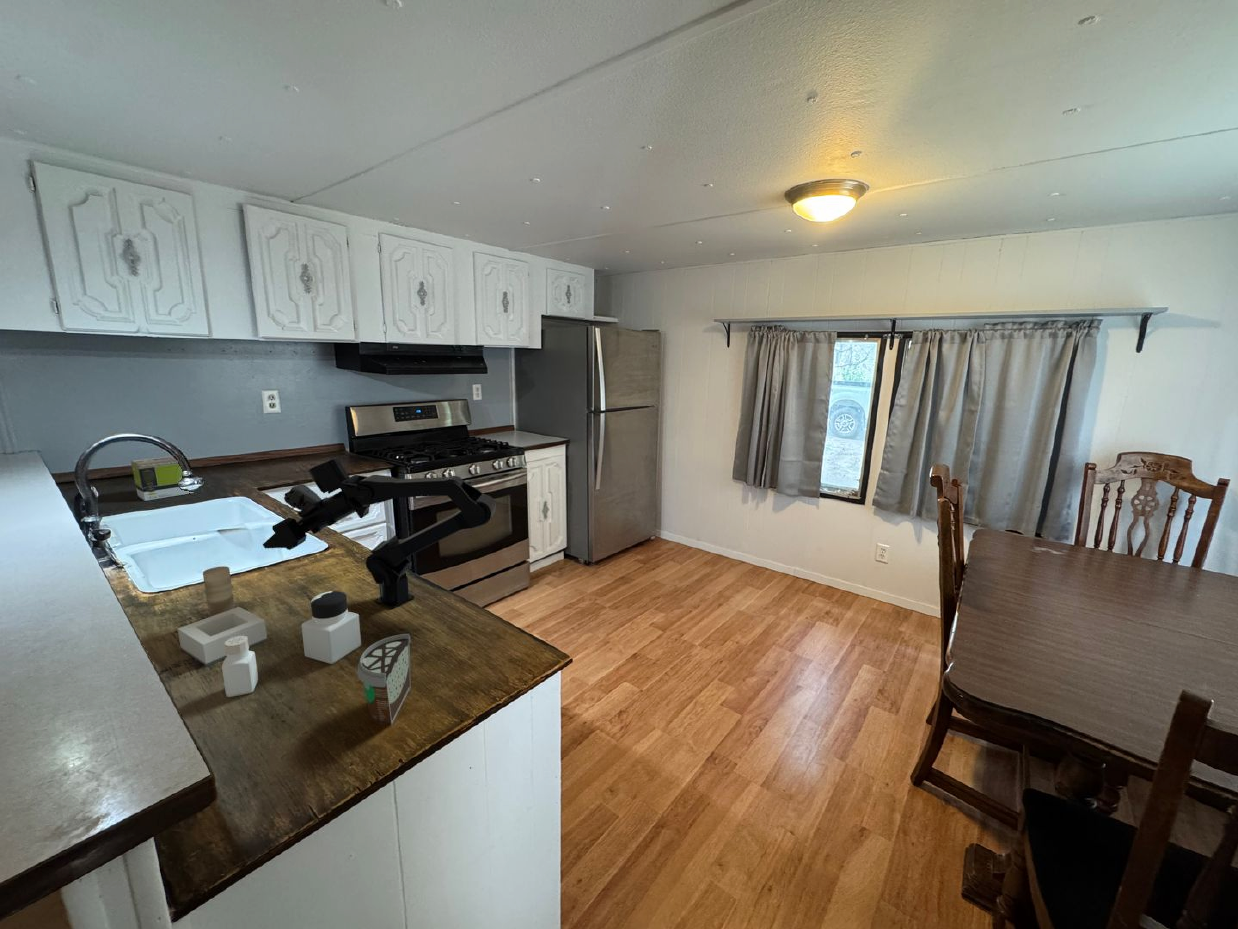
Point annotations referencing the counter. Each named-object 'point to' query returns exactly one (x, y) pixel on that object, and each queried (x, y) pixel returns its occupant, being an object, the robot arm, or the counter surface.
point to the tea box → (157, 478)
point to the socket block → (220, 634)
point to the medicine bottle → (330, 628)
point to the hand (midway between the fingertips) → (276, 538)
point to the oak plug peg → (218, 590)
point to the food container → (386, 676)
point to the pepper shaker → (239, 667)
